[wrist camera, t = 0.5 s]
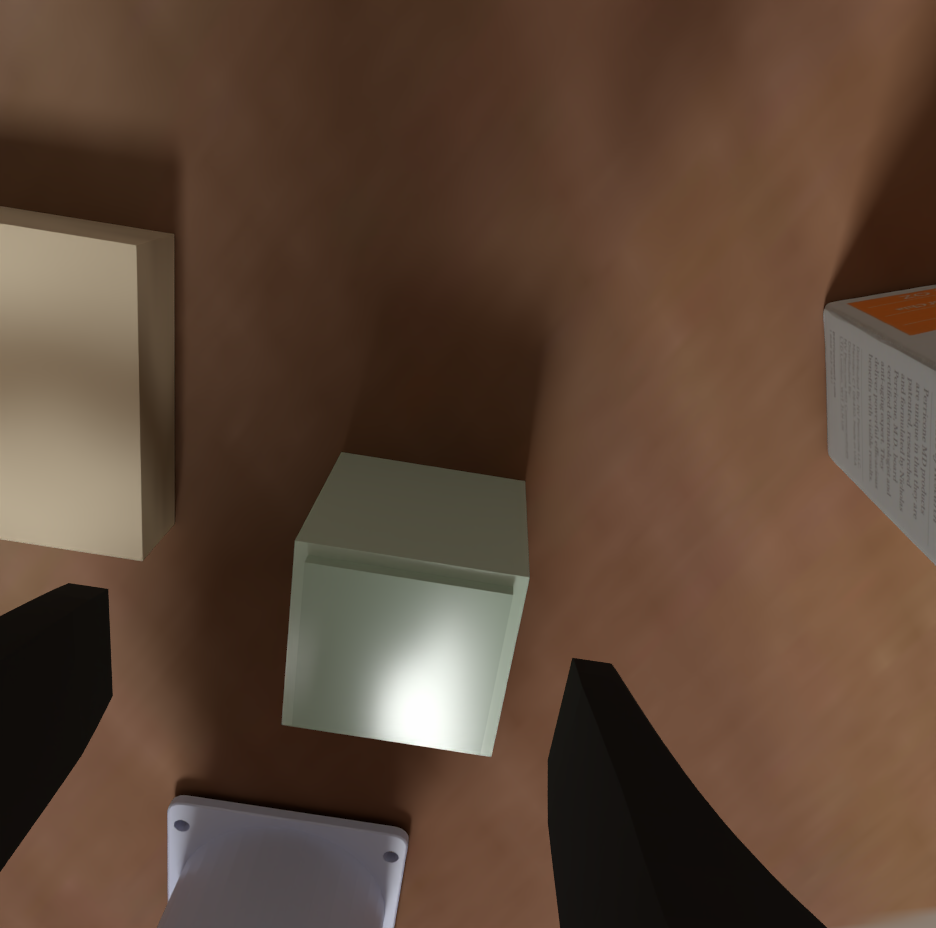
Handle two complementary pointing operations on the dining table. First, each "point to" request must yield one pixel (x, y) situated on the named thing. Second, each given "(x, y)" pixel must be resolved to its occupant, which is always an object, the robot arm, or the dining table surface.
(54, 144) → the dining table surface
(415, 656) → the sage box
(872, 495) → the skincare box
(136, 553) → the maple block
